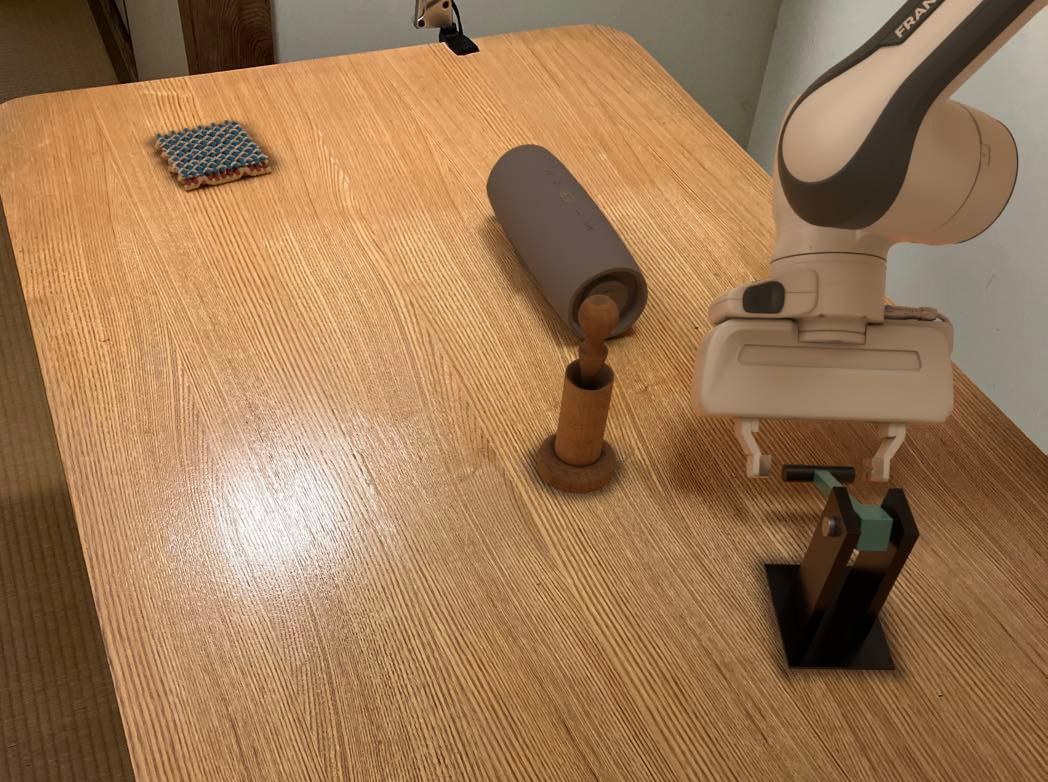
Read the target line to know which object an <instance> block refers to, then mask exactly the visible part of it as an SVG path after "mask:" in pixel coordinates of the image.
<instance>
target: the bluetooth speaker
mask: <svg viewBox="0 0 1048 782" xmlns="http://www.w3.org/2000/svg"><path fill="white" fill-rule="evenodd" d="M577 179H578V178H576V177H575V176H574V175H573V173H572V172H571V171H570V170H569V169H568V168H567V166H565V164H564V163H563V162H562V161H561V160H560V159H559V158H558V157H557V156H556V155H554V154H553V153H552V152H551V151H550V150H549V149H547V148H546V147H544V146H542V145H539V144H534V143H526V144H521V145H517V146H515V147H512V148H510V149H509V150H507V151H506V152H504V153H503V154H502V155H501V156H500V157H499V159H497V161H496V162H495V163H494V165H493V166H492V168H491V170H490V172H489V175H488V178H487V182H486V195H487V198H488V201H489V204H490V206H491V208H492V212H493V214H494V215H495V217H496V219H497V221H498V223H499V225H500V227H501V229H502V231H503V232H504V234H505V236H506V238H507V240H508V241H509V243H510V245H511V247H512V248H513V251H514V254H515V255H516V258H517V260H518V261H519V262H520V264H521V265H522V267H523V268H524V270H525V272H526V273H527V275H528V276H529V278H530V279H531V280H532V281H533V282H534V284H535V285H536V287H537V288H538V289H539V291H540V292H541V294H542V295H543V297H544V298H545V300H546V301H548V303H549V304H550V306H551V307H552V309H553V310H554V311H555V313H556V314H557V315H558V317H559V318H560V319H561V320H562V322H563V323H564V324H565V326H567V327H568V328H569V329H570V330H571V331H572V333H574V335H575V336H576V337H578V338H580V339H582V340H585V339H586V335H585V334H584V332H583V330H582V328H581V326H580V323H579V320H578V313H579V309H580V307H581V305H582V303H583V302H584V301H585V300H586V299H587V298H589V297H590V296H593V295H605V296H608V297H610V298H611V299H612V300H613V301H614V302H615V303H616V305H617V307H618V310H619V321H618V324H617V326H616V327H615V329H614V330H613V331H612V332H611V333H610V334H609V335H608V336H607V337H606V338H605V340H606V339H611V338H614V337H616V336H618V335H621V334H622V333H624V332H626V331H627V330H628V329H630V328H631V327H632V326H633V325H634V324H635V323H636V322H637V321H638V320H639V319H640V317H641V316H642V314H643V312H644V310H645V309H646V306H647V303H648V299H649V290H648V283H647V280H646V279H645V276H644V275H643V271H642V270H641V268H640V266H639V264H638V263H637V261H636V259H635V257H634V256H633V255H632V253H631V251H630V250H629V249H628V247H627V245H626V244H625V243H624V241H623V240H622V238H621V237H620V235H619V233H618V232H617V230H616V229H615V228H614V226H613V224H612V223H611V222H610V220H609V219H608V218H607V216H606V215H605V213H604V212H603V211H602V209H601V208H600V207H599V206H598V204H597V203H596V201H595V200H594V199H593V197H591V195H590V194H589V192H588V191H587V190H586V189H585V188H584V187H583V185H582V184H581V183H580V181H578V180H577Z"/></svg>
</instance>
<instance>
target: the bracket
mask: <svg viewBox="0 0 1048 782" xmlns="http://www.w3.org/2000/svg"><path fill="white" fill-rule="evenodd" d="M848 492H849V490H848V487H847V486H843V487H839V486H833V488H832V490H831V492H830V495H829V497H828V499H827V500H826V502H825V505H824V507H823V510H822V512H821V515H820V517H819V520H818V522H817V524H816V526H815V529H814V531H813V534H812V537H811V539H810V541H809V544H808V546H807V549H806V550H805V554H804V556H803V558H802V561H801V563H800V564H797V563H795V564H793V563H764V564H763V568H764V573H765V576H766V580H767V585H768V589H769V593H770V597H771V601H772V606H773V611H774V614H775V618H776V622H777V626H778V631H779V635H780V639H781V644H782V647H783V651H784V655H785V661H786V664H787V669H790V670H841V671H843V670H845V671H848V670H849V671H896V666H895V664H894V661H893V656H892V653H891V651H890V648H889V643H888V642H887V638H886V635H885V632H884V629H883V626H882V623H881V620H880V616H879V614H880V612H881V611H882V609H883V608H884V605H885V603H886V601H887V599H888V597H889V595H890V593H891V591H892V590H893V587H894V585H895V584H896V582H897V580H898V578H899V576H900V574H901V572H902V570H903V568H904V566H905V564H906V562H907V561H908V559H909V557H910V555H911V553H912V551H913V549H914V548H915V546H916V543H917V541H918V539H919V538H920V535H921V533H920V531H919V528H918V525H917V523H916V520H915V517H914V514H913V512H912V510H911V507H910V504H909V502H908V499H907V496H906V493H905V491H904V489H903V487H888V489H887V492H886V493H885V496H884V499H883V500H882V502H881V504H880V505H879V506H880V507H881V508H882V509H883V510H884V511H885V512H886V513H887V514H888V515H889V516H890V517H891V518H892V519H893V524H892V529H891V534H890V538H889V543H888V548H887V551H858V553H857V556H856V558H855V560H854V562H853V564H852V565H848V563H849V561H850V559H851V557H852V556H853V553H854V551H855V546H856V544H857V542H858V540H859V538H860V535H861V530H860V527H859V524H858V521H857V518H856V515H855V511H854V508H853V505H852V502H851V499H850V496H849V493H850V492H849V493H848Z"/></svg>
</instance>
